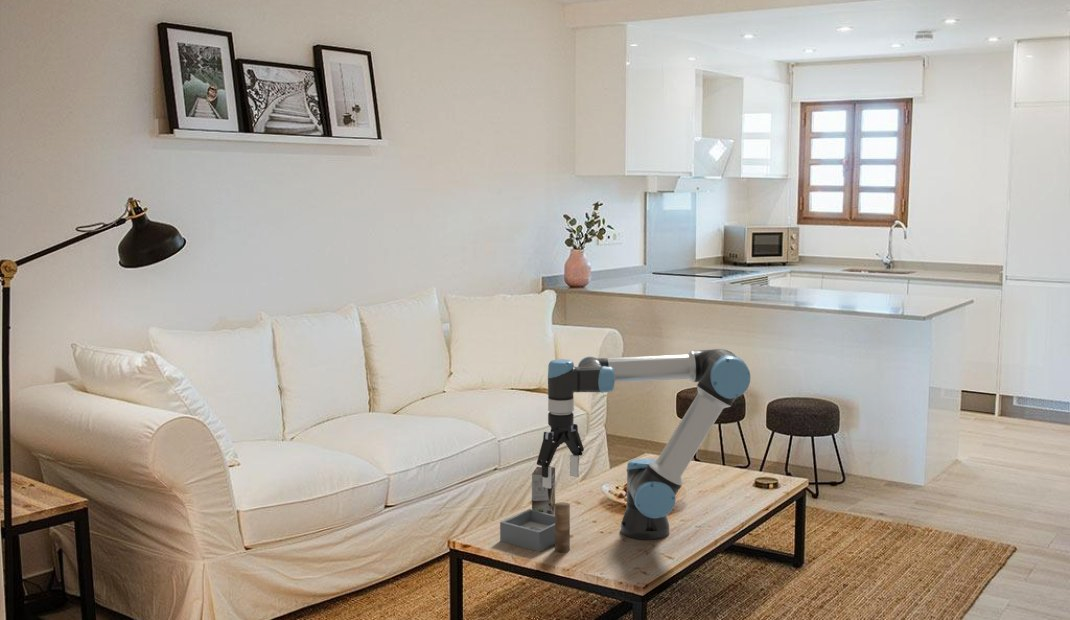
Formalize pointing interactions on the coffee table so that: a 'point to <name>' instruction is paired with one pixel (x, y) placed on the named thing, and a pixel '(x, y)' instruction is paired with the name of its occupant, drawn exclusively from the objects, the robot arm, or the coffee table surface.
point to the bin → (529, 530)
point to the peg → (562, 527)
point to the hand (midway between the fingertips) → (560, 481)
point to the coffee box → (543, 492)
